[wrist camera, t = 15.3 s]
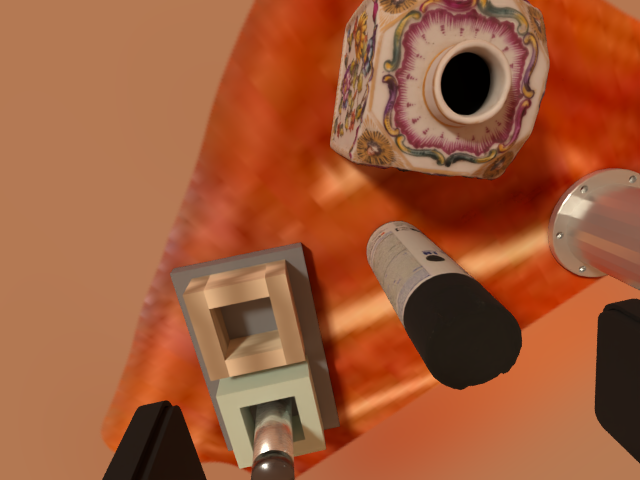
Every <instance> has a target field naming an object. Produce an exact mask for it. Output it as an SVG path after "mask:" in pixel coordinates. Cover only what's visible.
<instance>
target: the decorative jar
mask: <svg viewBox="0 0 640 480" xmlns="http://www.w3.org/2000/svg"><path fill="white" fill-rule="evenodd" d="M548 71H549V56H548V49H547V40H546V34H545V25H544V21H543V16H542V13H541V11H540V10H539V9H538V8H536V7H533V6H532V5H531V4H530V3H529V1H527V0H364V1H363V2H362V4H361V5H360V6H359V7H358V9H357V10H356V11H355V13H354V14H353V16H352V17H351V19H350V20H349V22H348V23H347V25H346V29H345V35H344V41H343V49H342V57H341V65H340V71H339V80H338V86H337V93H336V101H335V109H334V118H333V125H332V133H331V141H330V146H331V148H332V149H333V150H334V151H335V152H337V153H338V154H340V155H341V156H343V157H345V158H347V159H348V160H350V161H352V162H354V163H356V164H361V165H367V166H374V167H378V168H382V169H386V168H389V167H395V168H397V169H398V170H400V171H403V172H404V171H418V172H421V173H424V174H428V175H438V176H448V177H450V176H463V177H466V178H467V177H468V178H474V177H476V178H477V179H488V180H494V179H495V178H498V177H500V176H501V175H502V174H503V173H504V172H505V169H506V168H507V167H508V165H509V164H510V163H511V162H512V161H513V160H514V159H515V157H516V155H517V153H518V152H519V150H520V148H521V147H522V146H523V144H524V143H525V142H526V140H527V139H528V138H529V136H530V134H531V133H532V130H533V127H534V123H535V120H536V117H537V114H538V111H539V108H540V103H541V100H542V98H543V96H544V93H545V88H546V82H547V76H548Z"/></svg>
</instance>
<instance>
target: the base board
mask: <svg viewBox="0 0 640 480" xmlns="http://www.w3.org/2000/svg"><path fill="white" fill-rule="evenodd" d="M284 259H285V261H286V266H287V270H288V275H289V279H290V283H291V288H292V292H293V296H294V301H295V305H296V309H297V314H298V318H299V322H300V327H301V331H302V335H303V340H304V350H305V355H307V357H308V362H309V366H310V370H311V375H312V379H313V383H314V388H315V392H316V396H317V401H318V405H319V409H320V414H321V418H322V422H323V429H324V430H325V429H330V428H334V427H339V426H340V424H339V418H338V414H337V409H336V404H335V400H334V395H333V390H332V385H331V381H330V376H329V371H328V367H327V362H326V357H325V353H324V348H323V343H322V339H321V334H320V329H319V324H318V320H317V315H316V310H315V306H314V301H313V296H312V292H311V287H310V282H309V278H308V273H307V268H306V263H305V259H304V254H303V249H302V245H301V243H296V244H291V245H286V246H281V247H276V248H272V249H267V250H262V251H257V252H252V253H247V254H243V255H238V256H233V257H228V258H223V259H218V260H214V261H209V262H204V263H199V264H194V265H189V266H185V267H180V268H175V269H173V270H172V272H171V273H170V276H171V279H172V282H173V285H174V288H175V291H176V294H177V297H178V300H179V303H180V306H181V309H182V312H183V315H184V318H185V321H186V324H187V327H188V330H189V333H190V336H191V339H192V342H193V345H194V348H195V351H196V354H197V357H198V360H199V363H200V366H201V369H202V372H203V375H204V378H205V381H206V384H207V387H208V390H209V393H210V396H211V399H212V402H213V405H214V408H215V411H216V414H217V417H218V420H219V423H220V426H221V429H222V432H223V435H224V438H225V441H226V445H227V448H228V451H231V450H233V448H232V445H231V442H230V438H229V435H228V432H227V429H226V426H225V423H224V420H223V417H222V414H221V411H220V408H219V405H218V402H217V399H216V394H217V390H218V386H219V381H220V379H218V380H214V381H211V380H210V377H209V374H208V371H207V368H206V365H205V362H204V359H203V356H202V353H201V350H200V347H199V344H198V341H197V337H196V334H195V331H194V328H193V325H192V322H191V319H190V316H189V313H188V310H187V307H186V304H185V301H184V298H183V294H184V292H185V290H186V288H187V286H188V284H189V283H190V281H191V279H193V278H198V277H202V276H207V275H212V274H217V273H222V272H227V271H231V270H236V269H241V268H246V267H251V266H255V265H260V264H265V263H270V262H275V261H279V260H284ZM220 309H221V312H222V316H223V319H224V322H225V326H226V329H227V332H228V336H229V339H230V340H231V339H236V338H241V337H245V336H250V335H255V334H259V333H264V332H269V331H273V330H278V328H277V324H276V320H275V316H274V312H273V308H272V304H271V300H270V296H269V297H264V298H260V299H255V300H250V301H245V302H241V303H236V304H231V305H226V306H222V307H220ZM291 404H292V416H297V415H299V412H298V408H297V404H296V400H295V396H292V397H291ZM250 410H251V413H252V416H253V420H254V423H256V410H257V404H255V405H251V406H250Z"/></svg>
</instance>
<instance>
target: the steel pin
mask: <svg viewBox="0 0 640 480" xmlns="http://www.w3.org/2000/svg"><path fill="white" fill-rule="evenodd" d="M251 480H294V454H293V429H292V404H291V397H287V398H283V399H278V400H274V401H269V402H265V403H260V404H257V410H256V423H255V436H254V449H253V461H252V474H251Z"/></svg>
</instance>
